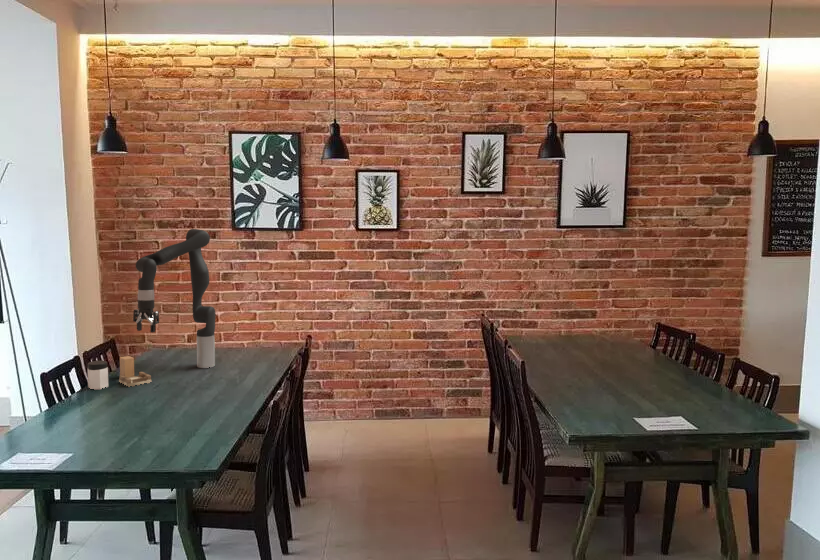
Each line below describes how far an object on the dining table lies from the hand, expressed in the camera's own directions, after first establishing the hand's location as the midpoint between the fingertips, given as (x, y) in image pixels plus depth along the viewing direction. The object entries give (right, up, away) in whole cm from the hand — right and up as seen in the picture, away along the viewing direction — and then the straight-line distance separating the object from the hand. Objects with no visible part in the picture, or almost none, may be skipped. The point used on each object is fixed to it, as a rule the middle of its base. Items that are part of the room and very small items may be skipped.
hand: (146, 331), depth 287 cm
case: (-13, -24, +9) cm, 29 cm away
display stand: (-5, -25, -1) cm, 25 cm away
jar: (-18, -26, -10) cm, 33 cm away
